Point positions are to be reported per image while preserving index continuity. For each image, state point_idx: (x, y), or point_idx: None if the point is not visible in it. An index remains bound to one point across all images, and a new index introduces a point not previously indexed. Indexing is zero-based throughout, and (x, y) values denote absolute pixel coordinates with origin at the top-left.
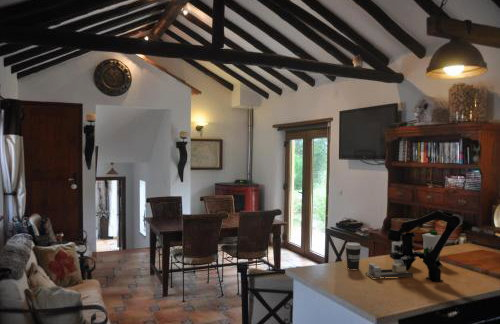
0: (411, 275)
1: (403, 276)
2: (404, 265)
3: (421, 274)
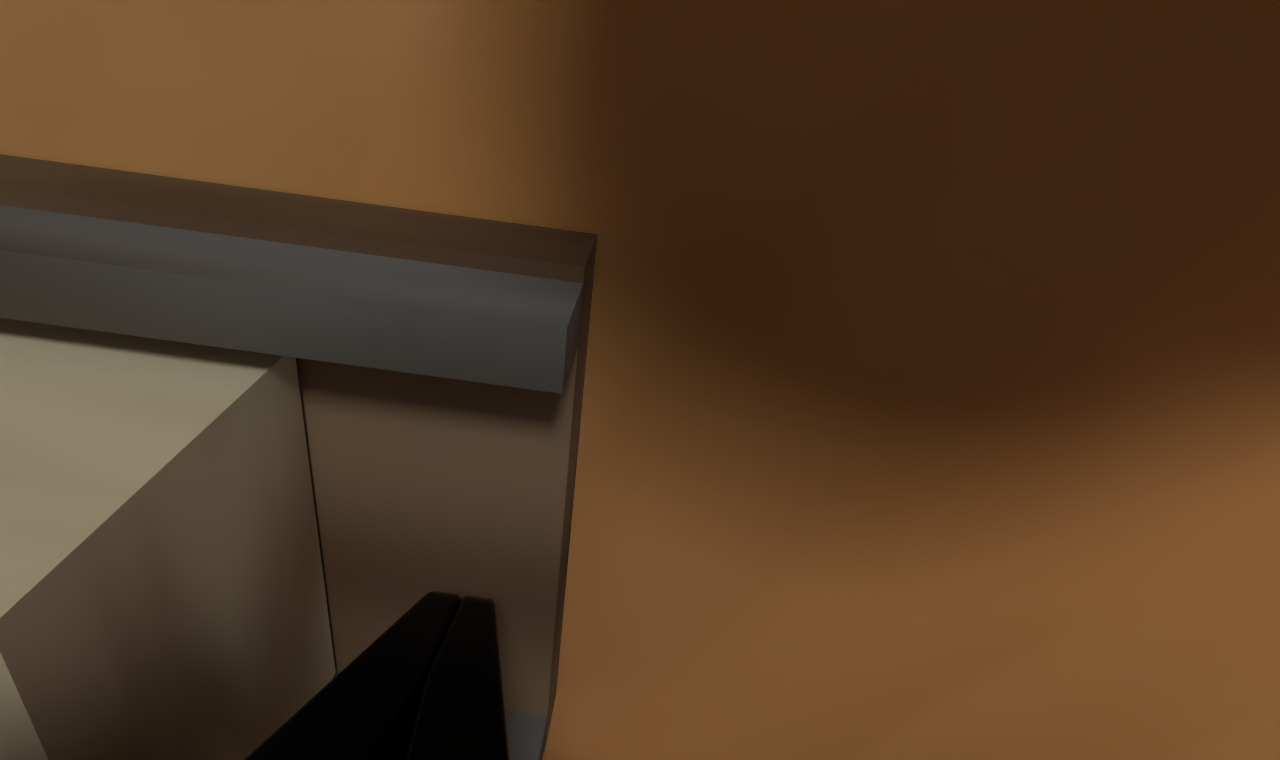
0: None
1: None
2: (259, 749)
3: (1032, 585)
